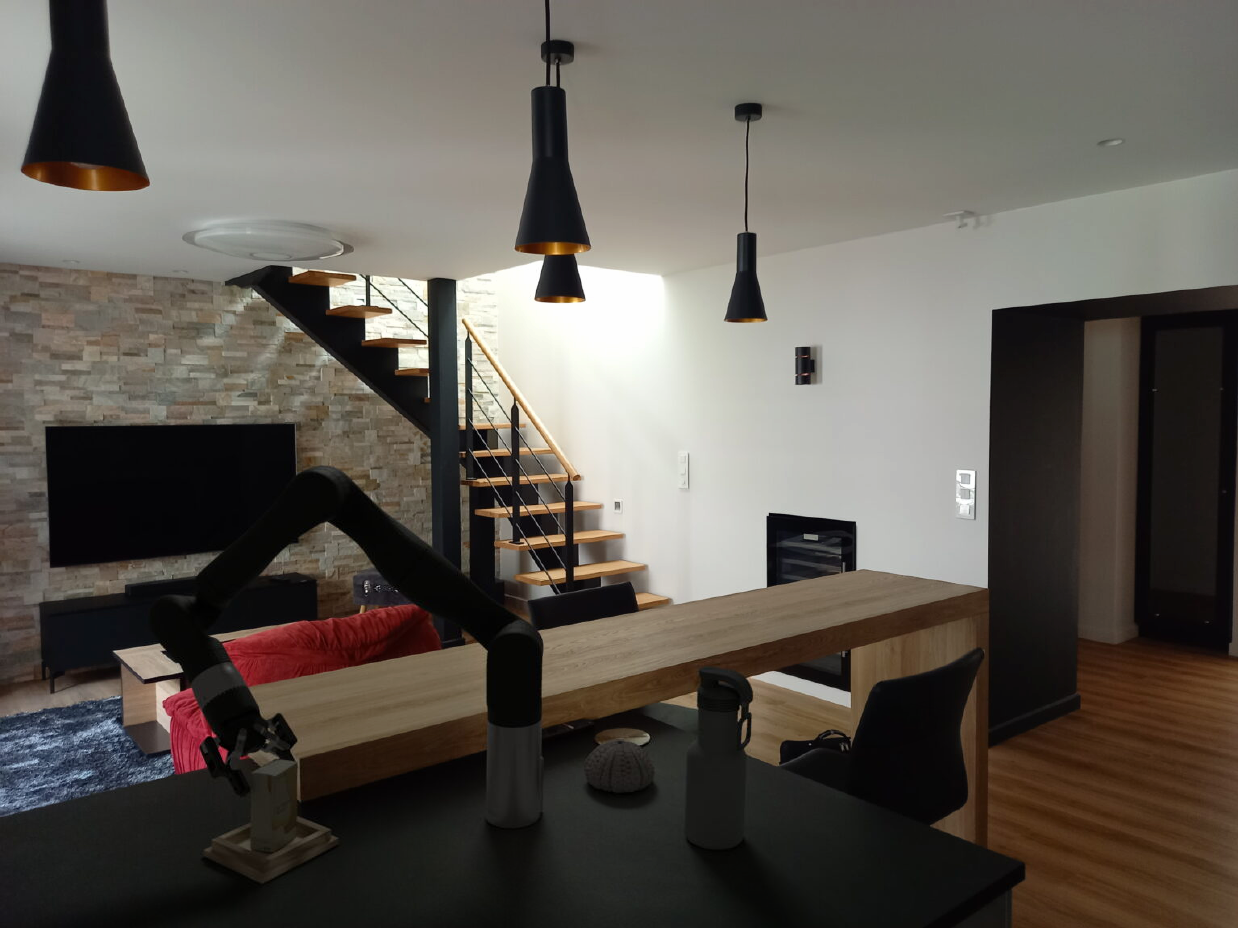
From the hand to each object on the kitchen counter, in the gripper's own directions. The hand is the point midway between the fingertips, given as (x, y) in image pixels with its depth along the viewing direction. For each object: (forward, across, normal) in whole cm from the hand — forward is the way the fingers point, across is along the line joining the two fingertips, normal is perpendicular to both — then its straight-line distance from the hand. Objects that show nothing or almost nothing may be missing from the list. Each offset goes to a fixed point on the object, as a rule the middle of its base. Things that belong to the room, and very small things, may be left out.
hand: (270, 784), depth 137 cm
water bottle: (+47, +43, -32) cm, 72 cm away
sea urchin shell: (+31, +52, -15) cm, 62 cm away
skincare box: (+7, 0, +7) cm, 10 cm away
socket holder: (+8, 0, +7) cm, 11 cm away
